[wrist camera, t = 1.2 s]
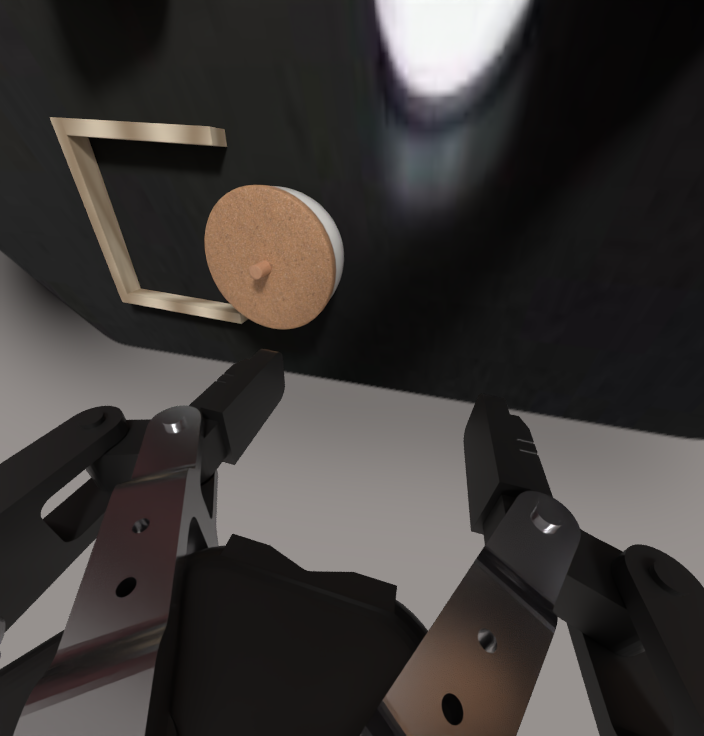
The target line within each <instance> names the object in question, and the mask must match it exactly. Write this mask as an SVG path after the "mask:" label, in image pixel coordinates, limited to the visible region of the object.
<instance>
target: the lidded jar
mask: <svg viewBox="0 0 704 736" xmlns="http://www.w3.org/2000/svg"><path fill="white" fill-rule="evenodd" d="M205 252H206V259H207V263H208V266H209V269H210V272H211V274H212V277H213V279H214V281H215V283H216V285H217V286H218V288H219V290H220V291H221V293H222V294H223V296H224V297H225V298H226V299H227V301H228V302H229V303H230V304H231V305H232V306H233V307H234V308H235V309H236V310H237V311H238V312H240V313H241V314H242V315H244V316H245V317H247V318H248V319H250V320H252V321H254V322H255V323H258V324H260V325H263V326H266V327H270V328H274V329H293V328H297V327H301V326H303V325H305V324H307V323H309V322H310V321H312V320H313V319H314V318H316V317H317V316H318V315H319V313H320V312H321V311H322V310H323V309H324V308H325V306H326V305H327V303H328V302H329V300H330V298H331V297H332V295H333V294H334V292H335V290H336V288H337V286H338V284H339V282H340V279H341V275H342V271H343V264H344V249H343V244H342V239H341V236H340V233H339V231H338V229H337V227H336V225H335V223H334V221H333V219H332V218H331V217H330V215H329V214H328V212H327V211H326V210H325V209H324V208H323V207H322V206H321V205H320V204H318V203H317V202H316V201H315V200H313V199H312V198H310V197H308V196H306V195H305V194H303V193H301V192H298V191H295V190H293V189H289V188H284V187H278V186H267V185H247V186H243V187H239V188H236V189H234V190H232V191H230V192H228V193H227V194H226V195H224V196H223V197H222V198H221V199H220V200H219V201H218V202H217V204H216V205H215V206H214V207H213V209H212V211H211V213H210V215H209V218H208V222H207V225H206V231H205Z"/></svg>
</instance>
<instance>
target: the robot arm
mask: <svg viewBox="0 0 704 736" xmlns="http://www.w3.org/2000/svg"><path fill="white" fill-rule="evenodd" d="M284 388H285V381H284V367H283V356H282V354H281V353H280V352H276V351H271V350H266V349H260V350H259V351H258V352H257V353H255V354H254V355H253V356H252V357H251V358H250V359H244V360H242V361H240V362H238V363H236V364H234V365H232V366H231V367H230V368H229V369H228V370H227V371H226V372H225V373H224V375H222V376H220V377H219V378H218V379H217V382H216V381H215V382H214V383H213V384H212V385H211V386H210V387H209V388H208V389H206V390H205V391H204V392H203V393H202V394H201V395H200V396H199V397H198V398H197V399H195V400H194V401H193V402H192V403H191V404H190V405H189V406H175V407H171V408H168V409H166V410H163V411H161V412H160V413H158V414H157V415H155V416H154V417H153V418H152V419H151V420H126V419H125V417H124V415H123V413H122V411H121V410H120V409H119V408H117V407H113V406H100V407H95V408H91V409H88V410H85V411H83V412H81V413H79V414H77V415H75V416H73V417H72V418H70V419H69V420H67V421H66V422H64V423H63V424H61V425H59V426H58V427H57V428H55V429H53V430H52V431H50V432H49V433H47V434H46V435H44V436H43V437H41V438H39V439H38V440H36V441H35V442H33V443H32V444H30V445H29V446H27V447H26V448H24V449H22V450H21V451H19V452H18V453H16V454H15V455H13V456H12V457H10V458H9V459H7V460H5V461H4V462H2V463H1V464H0V644H1V641H2V639H3V636H4V633H5V632H6V631H7V630H8V629H9V628H10V627H11V626H12V625H13V624H14V623H15V622H16V620H17V619H18V618H19V617H20V616H21V615H22V614H23V613H24V612H25V611H26V610H27V609H28V608H29V607H30V606H31V605H32V604H33V603H34V602H35V601H36V600H37V599H38V598H39V597H40V596H41V595H42V594H43V592H44V591H45V590H46V589H47V588H48V587H49V586H50V585H51V584H52V583H53V582H54V581H55V580H56V579H57V578H58V577H59V576H60V575H61V574H62V573H63V572H64V571H65V570H66V568H68V567H69V566H70V564H72V562H73V561H74V560H75V559H76V558H77V557H78V556H79V555H80V554H81V553H82V552H83V551H84V550H85V549H86V548H87V547H88V546H89V544H91V543H92V542H93V541H94V540H95V539H96V541H95V544H94V546H93V549H92V552H91V555H90V558H89V561H88V564H87V567H86V569H85V573H84V575H83V578H82V581H81V584H80V587H79V590H78V593H77V596H76V598H75V601H74V604H73V607H72V610H71V613H70V616H69V619H68V621H67V624H66V627H65V630H63V631H62V632H60V633H58V634H57V635H55V636H53V637H52V638H50V639H49V640H47V641H45V642H44V643H42V644H40V645H39V646H37V647H36V648H34V649H32V650H31V651H29V652H28V653H26V654H24V655H23V656H21V657H20V658H18V659H16V660H15V661H13V662H11V663H10V664H8V665H7V666H5V667H3V668H2V669H0V736H516V735H517V732H518V729H519V727H520V724H521V721H522V719H523V716H524V713H525V710H526V708H527V705H528V703H529V700H530V697H531V694H532V692H533V689H534V686H535V684H536V681H537V678H538V676H539V673H540V670H541V668H542V665H543V662H544V659H545V656H546V654H547V651H548V649H549V646H550V643H551V641H552V638H553V635H554V632H555V629H556V626H557V617H559V618H561V619H562V620H564V621H565V622H567V626H568V629H569V632H570V636H571V639H572V643H573V646H574V649H575V653H576V656H577V660H578V663H579V666H580V670H581V673H582V677H583V680H584V683H585V687H586V690H587V694H588V697H589V700H590V704H591V707H592V711H593V714H594V717H595V721H596V724H597V728H598V731H599V734H600V736H704V588H703V586H702V585H701V584H700V582H699V581H698V580H697V579H696V578H695V576H693V575H692V574H691V573H690V572H689V571H688V570H687V569H686V568H685V567H684V566H683V565H682V564H680V563H679V562H678V561H676V560H675V559H674V558H672V557H670V556H669V555H667V554H666V553H663V552H662V551H660V550H658V549H655V548H653V547H650V546H646V545H632V546H630V547H628V548H627V549H626V550H625V551H624V552H622V551H620V550H618V549H617V548H615V547H613V546H611V545H609V544H607V543H605V542H603V541H601V540H599V539H597V538H595V537H594V536H592V535H590V534H588V533H586V532H584V531H583V530H581V529H580V528H579V525H578V523H577V521H576V519H575V518H574V516H573V515H572V514H571V512H570V511H569V510H568V509H567V508H566V507H565V506H564V505H563V504H561V503H560V502H559V501H557V500H556V499H554V498H553V496H552V493H551V491H550V488H549V485H548V482H547V479H546V476H545V473H544V470H543V467H542V464H541V461H540V459H539V456H538V455H537V450H536V447H535V444H533V442H534V441H533V438H532V436H531V432H530V430H529V428H528V427H527V426H526V424H525V423H524V422H523V421H522V420H521V418H520V417H519V416H515V415H510V414H509V410H508V406H507V403H506V400H505V398H502V397H497V396H492V395H487V394H482V393H481V394H479V396H478V398H477V400H476V403H475V405H474V408H473V410H472V413H471V415H470V418H469V420H468V423H467V425H466V428H465V433H464V453H465V463H466V476H467V488H468V501H469V512H470V524H471V531H472V532H476V533H480V534H483V535H484V541H485V547H484V548H483V550H482V551H481V553H480V554H479V556H478V557H477V559H476V560H475V561H474V563H473V565H472V566H471V568H470V569H469V571H468V572H467V574H466V575H465V577H464V578H463V580H462V581H461V583H460V584H459V586H458V587H457V589H456V590H455V592H454V593H453V595H452V596H451V598H450V599H449V601H448V602H447V604H446V605H445V607H444V608H443V610H442V611H441V613H440V614H439V616H438V617H437V619H436V621H435V622H434V623H433V625H432V626H431V628H430V629H429V631H428V630H427V629H426V628H425V626H424V625H423V624H422V623H421V622H420V621H419V619H418V618H417V617H416V616H415V615H414V614H413V613H412V612H411V611H410V610H408V609H407V608H406V607H405V606H404V605H403V604H401V603H400V602H399V601H397V600H396V590H397V586H396V585H393V584H390V583H386V582H383V581H380V580H377V579H374V578H371V577H367V576H364V575H361V574H358V573H355V572H316V571H313V572H312V571H307V570H304V569H302V568H301V567H299V566H298V565H297V564H295V563H294V562H293V561H291V560H290V559H288V558H287V557H286V556H284V555H283V554H281V553H280V552H278V551H277V550H276V549H274V548H273V547H271V546H270V545H267V544H264V543H260V542H257V541H254V540H251V539H248V538H245V537H242V536H238V535H235V534H232V535H231V537H230V539H229V541H228V542H227V544H226V546H218V538H217V530H216V514H217V486H218V472H217V468H218V467H219V465H220V464H221V463H222V462H226V463H229V464H233V465H235V464H236V462H237V461H238V460H239V458H240V457H241V455H242V454H243V452H244V451H245V450H246V448H247V447H248V445H249V444H250V443H251V441H252V440H253V438H254V437H255V436H256V434H257V433H258V431H259V430H260V429H261V427H262V426H263V424H264V423H265V422H266V420H267V419H268V417H269V416H270V414H271V413H272V412H273V410H274V409H275V407H276V406H277V405H278V403H279V402H280V400H281V398H282V396H283V393H284ZM85 469H86V471H87V472H88V473H89V475H90V476H91V478H90V479H89V480H88V481H87V482H86V483H85V484H83V485H82V486H81V487H80V488H79V489H78V490H76V491H75V492H74V493H73V494H72V495H71V496H69V497H68V498H67V499H66V500H65V501H64V502H62V503H61V504H60V505H59V506H58V507H56V508H55V509H54V510H53V511H52V512H51V513H49V514H48V515H47V516H46V517H45V518H44V519H42V518H41V510H42V507H43V506H44V504H45V503H46V501H47V500H48V499H49V498H50V497H51V496H53V495H54V494H55V493H56V492H58V491H59V490H60V489H61V488H62V487H64V486H65V485H66V484H67V483H69V482H70V481H71V480H72V479H73V478H75V477H76V476H77V475H78V474H80V473H81V472H82V471H83V470H85ZM0 657H1V653H0Z"/></svg>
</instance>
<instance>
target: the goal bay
mask: <svg viewBox="0 0 704 736" xmlns="http://www.w3.org/2000/svg"><path fill="white" fill-rule="evenodd" d="M50 119H51V122H52V124H53V127H54V130H55V132H56V135H57V137H58V140H59V142H60V145H61V147H62V150H63V152H64V155H65V157H66V160H67V163H68V165H69V168H70V170H71V173H72V175H73V178H74V180H75V183H76V185H77V188H78V190H79V193H80V196H81V198H82V201H83V203H84V206H85V208H86V211H87V213H88V216H89V218H90V221H91V223H92V226H93V229H94V231H95V234H96V236H97V239H98V241H99V244H100V246H101V249H102V251H103V254H104V256H105V259H106V262H107V264H108V267H109V269H110V272H111V274H112V277H113V279H114V282H115V284H116V287H117V289H118V292H119V295H120V297H121V300H122V302H126V303H131V304H137V305H142V306H148V307H153V308H158V309H164V310H169V311H175V312H180V313H185V314H191V315H196V316H202V317H207V318H213V319H218V320H223V321H229V322H234V323H240V324H242V323H243V322H245V321H246V320H247V319H248V318H247V317H245V316H244V315H242V314H241V313H240V312H238V311H237V310H236V309H235V308H234V307H233V306H232V305H231V304H227V303H221V302H216V301H210V300H204V299H198V298H193V297H187V296H181V295H175V294H169V293H164V292H158V291H152V290H146V289H141V288H140V285H139V282H138V279H137V276H136V273H135V270H134V268H133V265H132V262H131V259H130V256H129V253H128V250H127V247H126V245H125V242H124V239H123V236H122V233H121V230H120V227H119V224H118V222H117V219H116V216H115V213H114V210H113V207H112V204H111V201H110V199H109V196H108V193H107V190H106V187H105V184H104V181H103V178H102V176H101V173H100V170H99V167H98V164H97V161H96V158H95V155H94V153H93V150H92V147H91V144H90V141H89V138H88V137H94V138H108V139H122V140H136V141H150V142H165V143H179V144H193V145H207V146H221V147H227V143H226V136H225V129H220V128H214V127H208V126H191V125H174V124H156V123H139V122H122V121H105V120H88V119H71V118H53V117H50Z"/></svg>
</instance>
